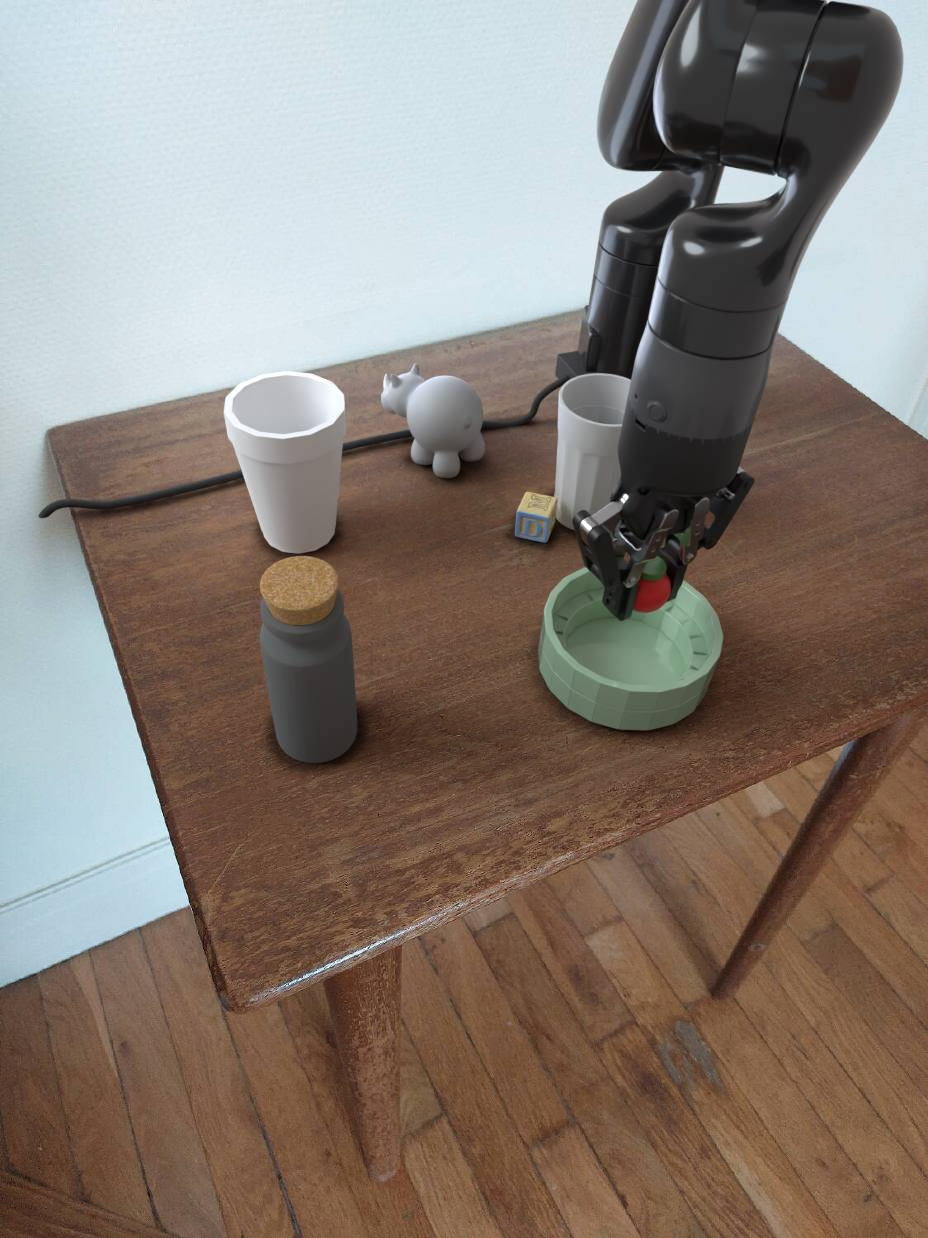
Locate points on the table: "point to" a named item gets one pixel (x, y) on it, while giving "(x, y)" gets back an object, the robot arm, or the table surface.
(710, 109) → the robot arm
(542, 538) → the alphabet block
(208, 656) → the table surface
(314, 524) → the foam cup
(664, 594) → the toy tomato
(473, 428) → the toy rhinoceros
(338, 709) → the bottle
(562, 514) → the cup
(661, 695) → the bowl
